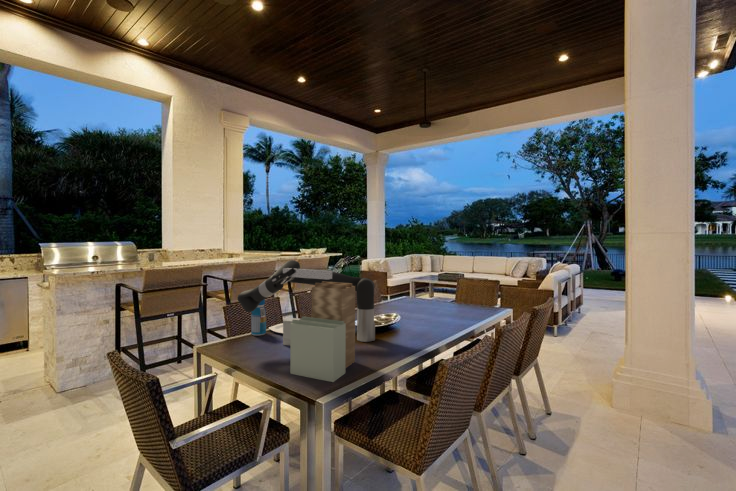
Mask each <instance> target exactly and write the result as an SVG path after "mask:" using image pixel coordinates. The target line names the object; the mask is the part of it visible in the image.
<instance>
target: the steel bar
mask: <svg viewBox="0 0 736 491" xmlns="http://www.w3.org/2000/svg"><path fill="white" fill-rule="evenodd" d="M290 269H292V268H284V269H283V273H285V272H287V271H289V270H290ZM294 270H295V273H294V274H292V275H290V276H289V277H299V278H313V279H327V280H328V279H332V272H333V270H329V269H327V270H325V269H311V268H309V269H308V268H300V269H296V268H294Z"/></svg>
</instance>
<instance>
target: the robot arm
mask: <svg viewBox="0 0 736 491" xmlns="http://www.w3.org/2000/svg"><path fill="white" fill-rule="evenodd" d="M284 268H292V269H290V270H289V271H287V272H285V273H283V269H284ZM294 268H296V269H301V264H300V262H299V261H297V260H293V259H291V260H287V261H286V262H285V263H283V264H282V265H281V266H280V267H279V268H278V269H277V270H276V271H275V272H274V273H272V274H271V276H270V277H268V278H267V279H265V280H264V281H263V282H262V283H260V284H258V285H257V286H256V287H253V288H251V289H248V290H243V291H242V292H240V293H239V294H238V295H237V298H236V299H237V302H238V303H239V305H241V307H242V308H243V310H244V311H245V312H246V313H251V312H252V311H254V310H255V309H256V308H257V307H258V305H259V304H260V302H261V301H262V300H264V299H265V300H266V299H267V298H269V297H271V296H274V295H275V294H276V293H279V292H280V291H281V290H282V289H283V288H284V285H285V284H286V283H288V282H289V283H291V284H292V283H294V284H304V285H309V286H310V285H311V286H315V283H322V282H339V283H352V286H355V292H356V306H357V307H356V328H357V329H356V340H357V341H358V342H365V343H368V342H372V341H375V340H376V323H375V283H374V281H373V280H372V279H370V278H368V277H359V276H350V275H347V274H344V273H338V272H336V271H332V279H328V280H327V279H313V278H299V277H289V276H290V275H292V274H294V273H295V270H294Z"/></svg>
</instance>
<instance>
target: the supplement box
mask: <svg viewBox="0 0 736 491" xmlns="http://www.w3.org/2000/svg"><path fill="white" fill-rule="evenodd" d="M292 320H302V318H298V317H297V318H296V317H289V318H286V319H285V320H283V321H282V323H283V334H282V345H283V346H290V324H291V323H292Z"/></svg>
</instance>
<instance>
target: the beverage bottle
mask: <svg viewBox="0 0 736 491" xmlns="http://www.w3.org/2000/svg"><path fill="white" fill-rule="evenodd" d="M265 303H266V299H264V300H262V301H261V302H260V304H259V305H258V307H257V308H256V309H255V310H254V311H252V312H250V313H251V315H250V320H251V322H250V326H251V328H250V329H251V332H250V333H251V335H252V336H255V337H256V336H257V337H258V336H264V335H266V334H267V314H266V313H267V309H266V307H265Z"/></svg>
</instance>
